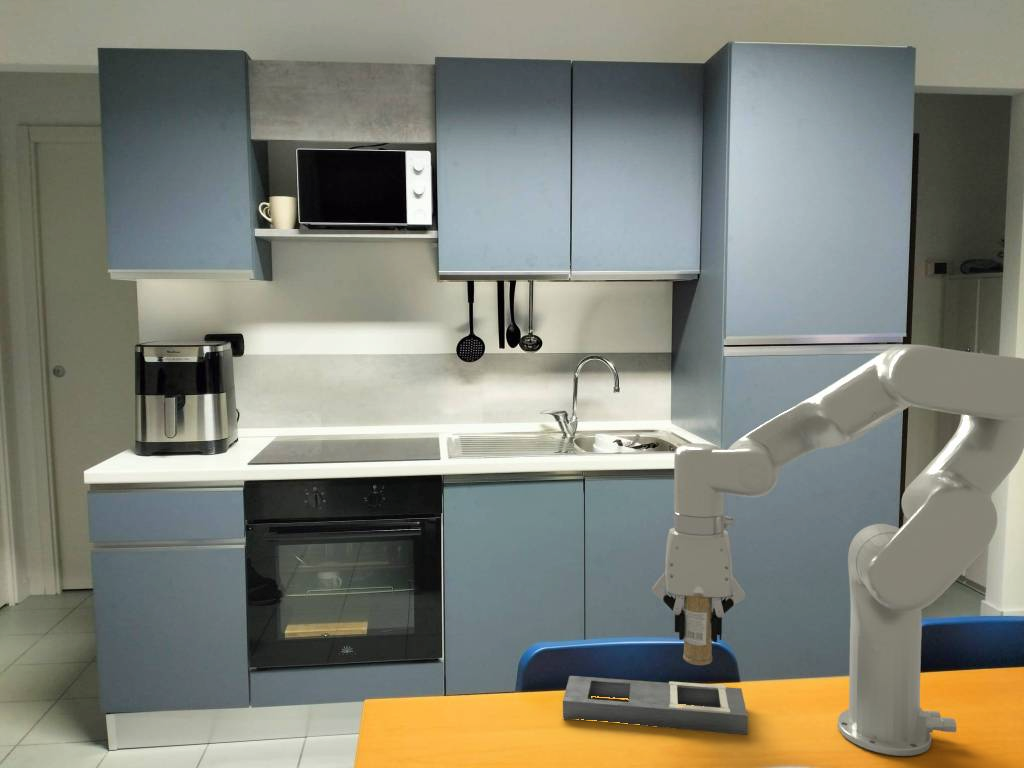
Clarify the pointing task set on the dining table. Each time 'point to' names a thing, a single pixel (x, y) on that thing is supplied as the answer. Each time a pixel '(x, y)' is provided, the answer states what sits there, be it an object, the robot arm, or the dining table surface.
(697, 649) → the sprinkles bottle
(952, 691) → the dining table surface
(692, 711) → the rail
